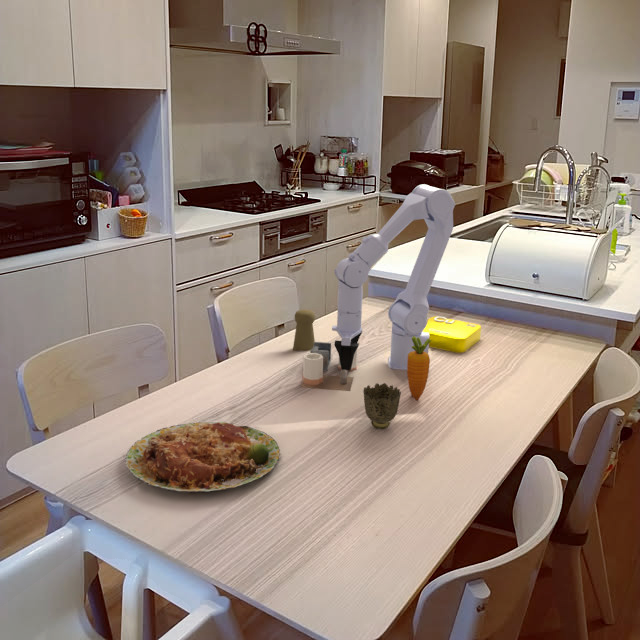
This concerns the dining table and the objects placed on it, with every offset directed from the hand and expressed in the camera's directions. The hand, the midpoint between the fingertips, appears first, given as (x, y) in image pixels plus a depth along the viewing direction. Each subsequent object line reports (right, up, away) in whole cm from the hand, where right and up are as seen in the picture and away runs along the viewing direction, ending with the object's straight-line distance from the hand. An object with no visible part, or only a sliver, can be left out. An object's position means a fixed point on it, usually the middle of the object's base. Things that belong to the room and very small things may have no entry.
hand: (347, 364), depth 170 cm
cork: (-11, +2, +14) cm, 17 cm away
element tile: (+28, +4, +24) cm, 37 cm away
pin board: (-5, -5, -8) cm, 11 cm away
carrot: (+14, -7, -15) cm, 22 cm away
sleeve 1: (-8, -3, -8) cm, 12 cm away
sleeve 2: (0, -1, +1) cm, 2 cm away
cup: (+6, -11, -27) cm, 30 cm away
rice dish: (-28, -15, -41) cm, 52 cm away
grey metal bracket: (-3, -2, +1) cm, 4 cm away
